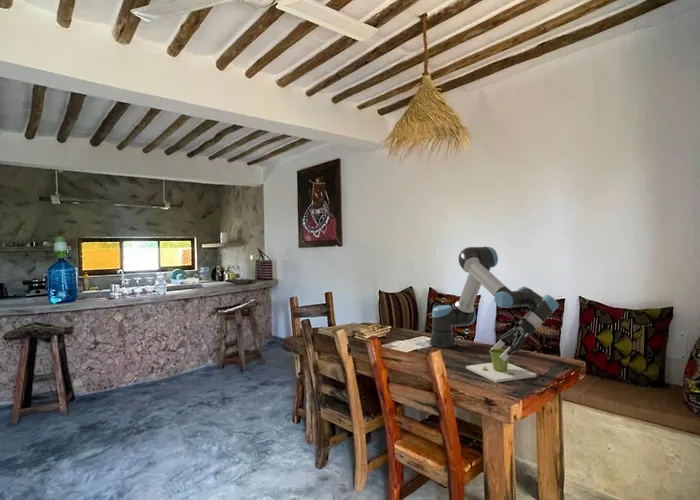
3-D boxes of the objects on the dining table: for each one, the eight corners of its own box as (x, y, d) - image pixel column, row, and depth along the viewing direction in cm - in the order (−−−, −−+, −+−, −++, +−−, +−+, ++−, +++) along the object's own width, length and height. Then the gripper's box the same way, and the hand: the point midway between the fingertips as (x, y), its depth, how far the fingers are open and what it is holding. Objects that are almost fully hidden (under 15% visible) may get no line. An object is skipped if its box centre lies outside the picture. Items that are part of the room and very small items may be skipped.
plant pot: (501, 365, 196) (501, 348, 196) (515, 371, 187) (515, 352, 187) (485, 368, 193) (485, 350, 193) (498, 373, 184) (498, 354, 184)
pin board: (466, 368, 197) (466, 362, 197) (503, 363, 203) (503, 358, 203) (495, 382, 176) (495, 376, 176) (536, 376, 183) (536, 370, 183)
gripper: (546, 334, 176) (512, 368, 177) (525, 323, 200) (495, 353, 202) (534, 322, 176) (499, 356, 177) (514, 312, 201) (484, 343, 202)
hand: (497, 355), depth 189 cm, fingers open, 13 cm apart
